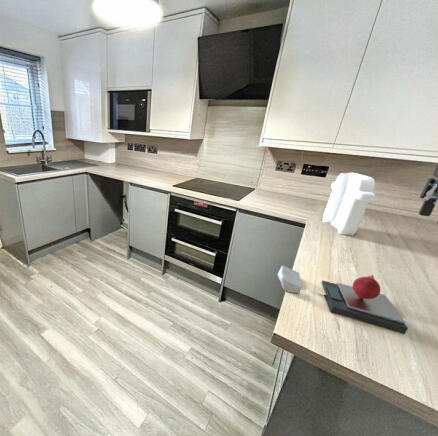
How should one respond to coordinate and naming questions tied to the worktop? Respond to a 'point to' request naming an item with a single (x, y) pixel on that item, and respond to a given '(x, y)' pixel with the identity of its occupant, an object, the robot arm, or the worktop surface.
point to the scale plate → (369, 304)
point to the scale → (340, 308)
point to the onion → (366, 287)
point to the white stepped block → (349, 201)
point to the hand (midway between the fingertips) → (432, 220)
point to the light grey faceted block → (289, 280)
